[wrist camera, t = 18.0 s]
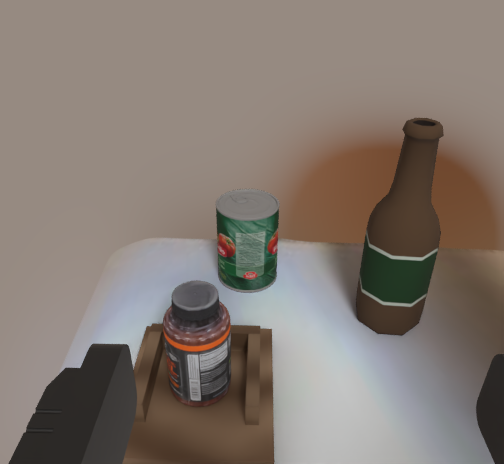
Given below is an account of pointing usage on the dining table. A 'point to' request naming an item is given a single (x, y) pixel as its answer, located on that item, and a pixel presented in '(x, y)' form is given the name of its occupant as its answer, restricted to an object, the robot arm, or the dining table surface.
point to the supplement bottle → (198, 344)
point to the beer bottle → (402, 238)
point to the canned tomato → (247, 239)
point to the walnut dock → (205, 408)
